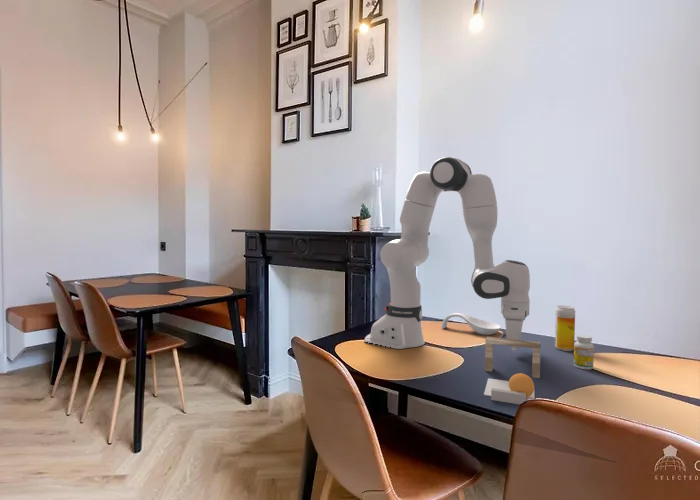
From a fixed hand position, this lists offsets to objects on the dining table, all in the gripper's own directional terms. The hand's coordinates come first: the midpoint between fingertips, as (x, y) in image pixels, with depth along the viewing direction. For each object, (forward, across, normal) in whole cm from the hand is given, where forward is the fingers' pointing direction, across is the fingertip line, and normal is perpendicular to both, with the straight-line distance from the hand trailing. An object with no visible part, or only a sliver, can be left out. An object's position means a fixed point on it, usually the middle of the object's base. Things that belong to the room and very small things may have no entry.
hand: (514, 349), depth 136 cm
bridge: (+2, +17, 0) cm, 17 cm away
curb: (+2, +38, 0) cm, 39 cm away
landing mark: (+2, +31, 0) cm, 31 cm away
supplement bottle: (+2, +3, +20) cm, 20 cm away
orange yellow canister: (+2, -15, +16) cm, 22 cm away
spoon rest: (+3, -27, -18) cm, 32 cm away
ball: (-1, +34, +3) cm, 35 cm away
